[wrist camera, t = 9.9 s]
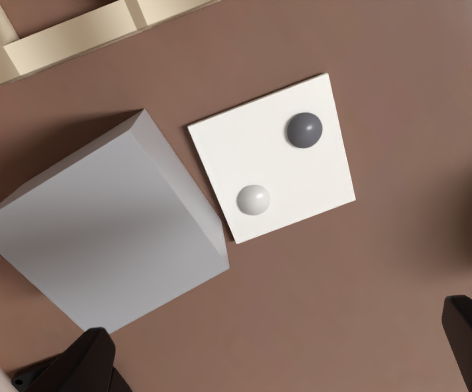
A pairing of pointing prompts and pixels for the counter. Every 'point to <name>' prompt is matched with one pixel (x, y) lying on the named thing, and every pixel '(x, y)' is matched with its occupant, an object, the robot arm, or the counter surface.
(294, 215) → the pattern tile
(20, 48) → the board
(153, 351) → the counter surface
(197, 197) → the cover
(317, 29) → the counter surface
